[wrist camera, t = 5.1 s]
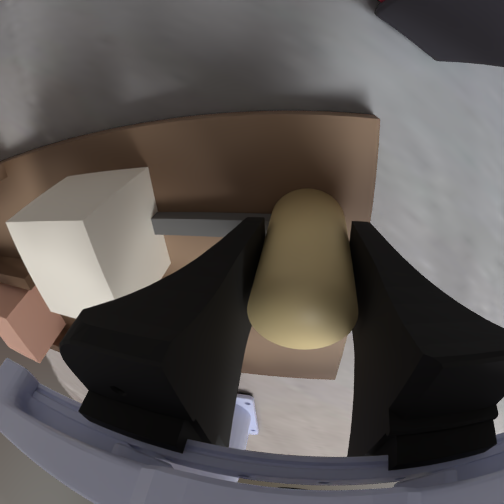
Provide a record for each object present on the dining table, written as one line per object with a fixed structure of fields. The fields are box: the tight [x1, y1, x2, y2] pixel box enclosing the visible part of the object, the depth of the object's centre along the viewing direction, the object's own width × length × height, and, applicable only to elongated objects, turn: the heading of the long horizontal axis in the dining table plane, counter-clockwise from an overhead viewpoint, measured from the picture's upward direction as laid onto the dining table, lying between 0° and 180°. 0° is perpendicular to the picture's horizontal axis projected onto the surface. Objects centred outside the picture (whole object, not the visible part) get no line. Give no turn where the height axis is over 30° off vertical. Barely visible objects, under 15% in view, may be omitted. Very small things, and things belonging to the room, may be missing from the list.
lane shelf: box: [0, 111, 380, 380], centre depth 16 cm, size 16×28×3 cm, turn 94°
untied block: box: [0, 282, 66, 363], centre depth 18 cm, size 5×5×4 cm
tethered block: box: [6, 167, 358, 350], centre depth 11 cm, size 5×13×5 cm, turn 93°
